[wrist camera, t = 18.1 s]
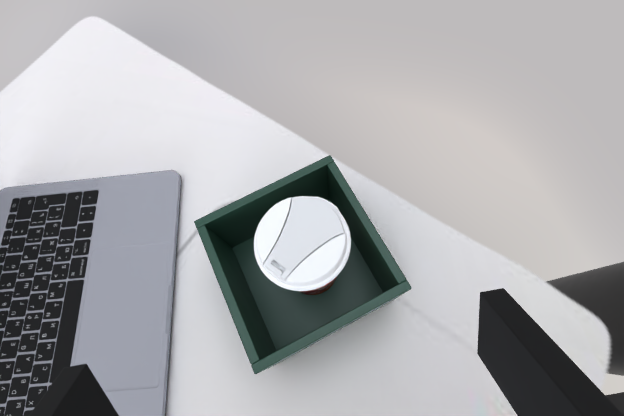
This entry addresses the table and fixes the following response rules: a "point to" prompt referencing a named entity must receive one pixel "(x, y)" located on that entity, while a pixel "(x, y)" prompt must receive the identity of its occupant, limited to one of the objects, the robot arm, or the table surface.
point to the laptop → (88, 287)
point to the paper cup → (302, 244)
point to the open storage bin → (287, 303)
